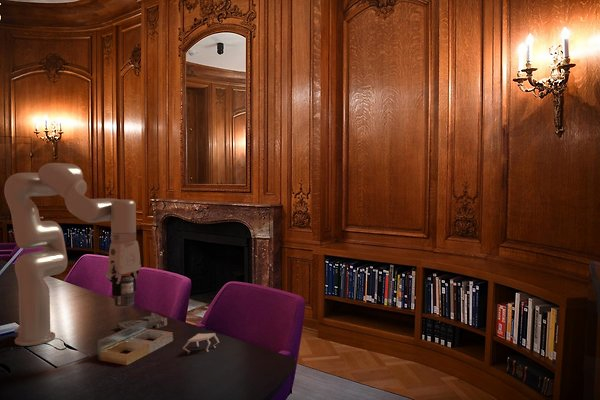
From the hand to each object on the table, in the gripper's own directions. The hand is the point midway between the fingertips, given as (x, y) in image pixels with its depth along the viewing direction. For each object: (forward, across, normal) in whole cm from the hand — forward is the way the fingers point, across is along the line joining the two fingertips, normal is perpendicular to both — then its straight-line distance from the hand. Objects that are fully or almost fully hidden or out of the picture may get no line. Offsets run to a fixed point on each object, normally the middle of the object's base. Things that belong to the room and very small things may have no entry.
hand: (124, 292), depth 149 cm
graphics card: (+22, +27, +16) cm, 39 cm away
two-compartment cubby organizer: (+21, +6, 0) cm, 22 cm away
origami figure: (+21, +14, -19) cm, 32 cm away
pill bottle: (+4, 0, 0) cm, 4 cm away
